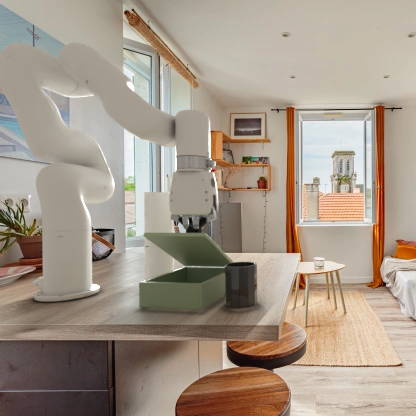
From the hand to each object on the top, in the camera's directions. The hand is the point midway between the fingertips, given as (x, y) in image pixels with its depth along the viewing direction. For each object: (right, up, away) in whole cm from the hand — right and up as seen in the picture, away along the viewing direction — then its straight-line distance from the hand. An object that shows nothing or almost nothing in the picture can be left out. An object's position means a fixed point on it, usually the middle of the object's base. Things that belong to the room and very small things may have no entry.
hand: (193, 246), depth 75 cm
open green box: (0, -12, -1) cm, 12 cm away
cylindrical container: (-14, -12, +13) cm, 23 cm away
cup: (+12, -12, -7) cm, 18 cm away
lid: (0, -2, 0) cm, 2 cm away
